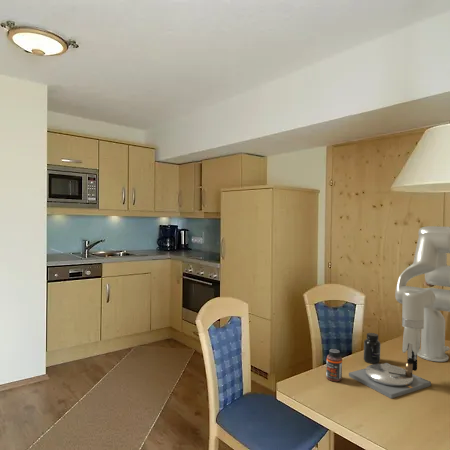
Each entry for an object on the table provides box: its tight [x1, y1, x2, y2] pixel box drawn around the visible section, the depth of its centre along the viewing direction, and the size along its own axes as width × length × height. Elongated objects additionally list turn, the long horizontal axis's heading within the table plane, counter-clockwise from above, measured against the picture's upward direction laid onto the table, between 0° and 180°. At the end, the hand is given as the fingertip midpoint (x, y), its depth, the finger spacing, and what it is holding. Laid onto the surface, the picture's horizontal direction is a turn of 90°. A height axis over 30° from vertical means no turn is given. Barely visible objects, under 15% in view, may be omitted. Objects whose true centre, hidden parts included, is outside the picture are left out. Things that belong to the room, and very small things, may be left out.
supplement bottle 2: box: [363, 332, 382, 364], centre depth 164 cm, size 7×7×12 cm
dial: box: [365, 361, 414, 387], centre depth 144 cm, size 17×17×6 cm
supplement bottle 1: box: [325, 348, 343, 383], centre depth 146 cm, size 6×6×11 cm
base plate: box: [348, 362, 432, 399], centre depth 144 cm, size 22×20×2 cm
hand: (412, 369), depth 143 cm, fingers closed
